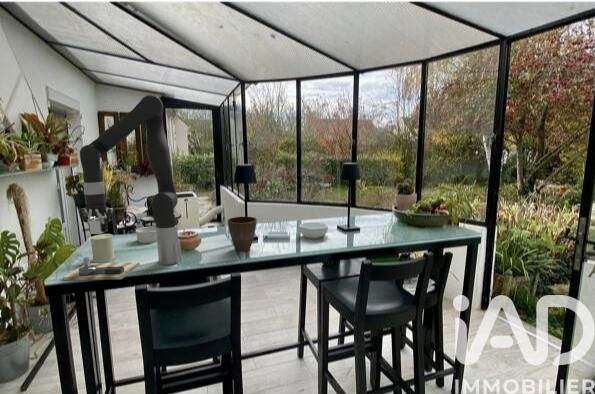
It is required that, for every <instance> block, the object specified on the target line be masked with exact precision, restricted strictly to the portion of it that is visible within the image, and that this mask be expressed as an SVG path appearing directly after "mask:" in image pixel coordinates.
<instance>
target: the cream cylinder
mask: <svg viewBox="0 0 595 394" xmlns="http://www.w3.org/2000/svg"><path fill="white" fill-rule="evenodd" d="M113 238H114V237H113V233H112V234H111V233H102V234H95V235H93V236H91V237H90V243H91V244H90V245H91V252H92V263H110V262H111V260H112V261H113V259H114V260H115V258H116V256H115V250H114V239H113Z"/></svg>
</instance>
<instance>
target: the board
mask: <svg viewBox="0 0 595 394" xmlns="http://www.w3.org/2000/svg"><path fill="white" fill-rule="evenodd" d="M90 265H96V266H97V267H124V272H123V273H122V274H93V275H89V276H79V270H78V269H79V268H81V267H83V266H84V264H83V265H81V266H80V267H78V268H76V269H74V270H73V271H71V272H69V273H68V274H66V275H63V276H62V280H63V279H64V280H63V281H81V280H82V281H84V280H85V281H89V280H90V281H93V280H95V281H97V280H106V281H107V280H123V279H124V278H125V277H126V276H128V275H129V274H130V273H133V271H134V270H136V269H137V268H138V267H139V266H141V263H140V262H104V263H94V262H90ZM65 279H66V280H65Z"/></svg>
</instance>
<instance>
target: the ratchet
mask: <svg viewBox="0 0 595 394" xmlns="http://www.w3.org/2000/svg"><path fill="white" fill-rule="evenodd" d="M82 259H83V265H84V266H83V265H82V266H83V267H81V266H80V267H81V268H80V267H78V268H79V269H78V268H77V269H78V270H79V276H89V275H93V274H122V273H123V272H124V267H97V266H96V265H90V263H91V259H90V256H85V257H84V258H82Z"/></svg>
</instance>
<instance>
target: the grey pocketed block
mask: <svg viewBox="0 0 595 394" xmlns="http://www.w3.org/2000/svg"><path fill="white" fill-rule="evenodd" d="M89 226H90V230H89V234H91V235H101V234H105V232H103V231H102V222H101V219H99V217H95V218H93V219H90V220H89V224H88V227H89Z"/></svg>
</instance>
